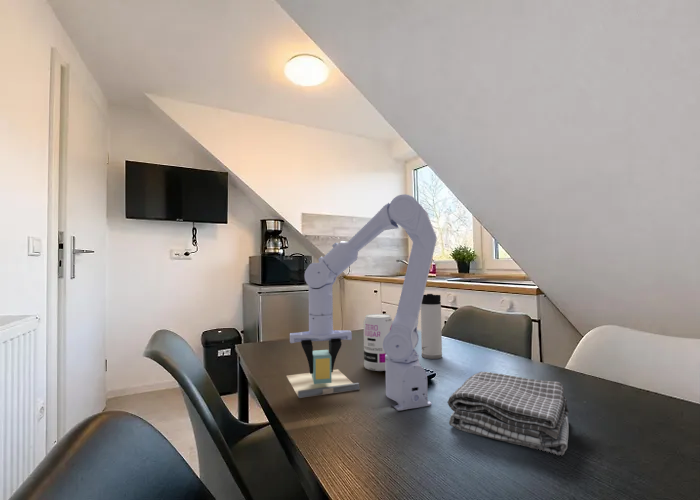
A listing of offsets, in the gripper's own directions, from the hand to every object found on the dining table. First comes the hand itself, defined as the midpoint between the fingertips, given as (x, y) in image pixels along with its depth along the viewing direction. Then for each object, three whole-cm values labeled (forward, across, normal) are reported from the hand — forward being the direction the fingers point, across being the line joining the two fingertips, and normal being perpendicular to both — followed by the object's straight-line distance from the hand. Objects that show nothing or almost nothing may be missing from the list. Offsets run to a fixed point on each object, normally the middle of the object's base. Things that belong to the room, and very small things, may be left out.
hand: (321, 371), depth 83 cm
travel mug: (+4, +37, +21) cm, 43 cm away
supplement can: (+4, +18, +12) cm, 22 cm away
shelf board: (+4, 0, +2) cm, 5 cm away
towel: (+5, +32, -26) cm, 41 cm away
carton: (+2, 0, 0) cm, 2 cm away
